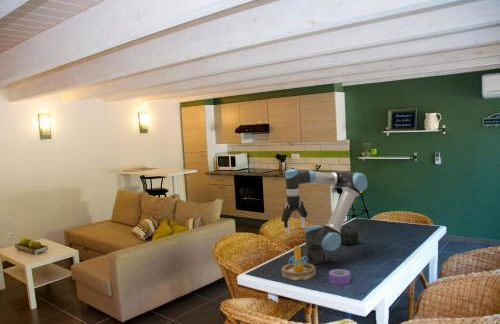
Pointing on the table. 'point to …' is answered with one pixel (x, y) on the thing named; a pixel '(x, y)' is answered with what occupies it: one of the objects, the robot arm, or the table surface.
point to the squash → (348, 235)
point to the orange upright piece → (298, 260)
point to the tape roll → (339, 276)
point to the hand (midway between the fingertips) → (295, 230)
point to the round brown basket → (291, 275)
